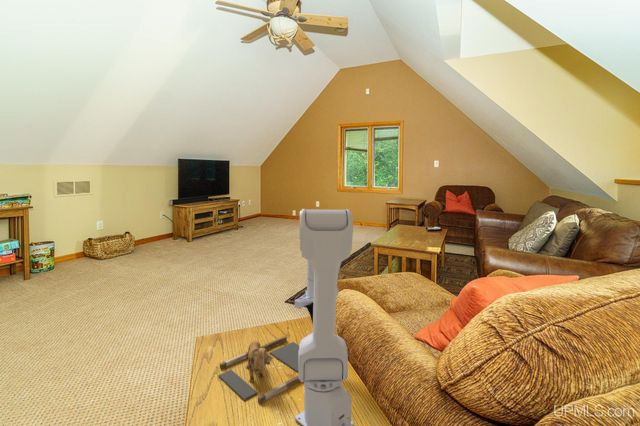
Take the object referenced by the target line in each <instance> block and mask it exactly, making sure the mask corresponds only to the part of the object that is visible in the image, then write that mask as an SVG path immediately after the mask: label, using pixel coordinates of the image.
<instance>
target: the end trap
mask: <svg viewBox="0 0 640 426" xmlns="http://www.w3.org/2000/svg"><path fill="white" fill-rule="evenodd" d="M217 376H218V378H220V379H221V380H222V381H223V383H225V384H226V385H227V386H228V387H229V388H230V389H231V390H232V391H233V392H234V393H235V394H236V395H238V396H239V397H240V399H242V400H243V401H246V400H247V401H248V399H250V398H253V397H254V396H256V395H258V391H257V390H256V389H255V388H253V386H251V385H250V384H249V383H247V381H245V380H244V379H243V378H241V377H240V376H239V375H238V374H237V373H236V372H235V371H234V370H233V369H228V370H226V371H224V372H222V373H220V374H218V375H217Z"/></svg>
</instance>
